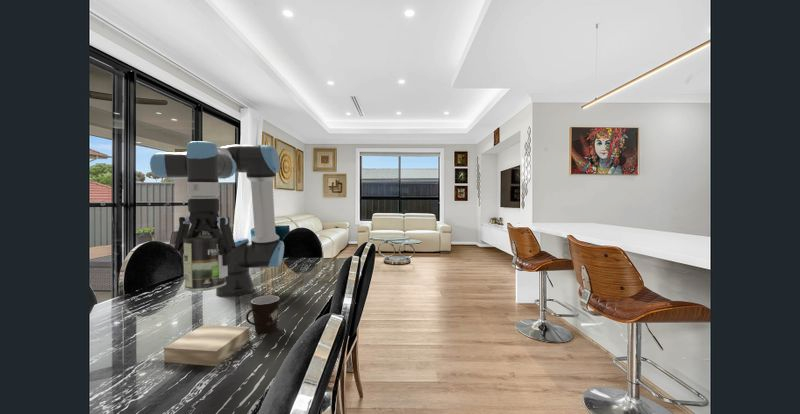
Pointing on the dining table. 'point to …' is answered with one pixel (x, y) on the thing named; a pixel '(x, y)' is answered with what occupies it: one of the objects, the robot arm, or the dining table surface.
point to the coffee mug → (264, 313)
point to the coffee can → (202, 263)
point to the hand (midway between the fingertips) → (205, 276)
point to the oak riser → (207, 345)
